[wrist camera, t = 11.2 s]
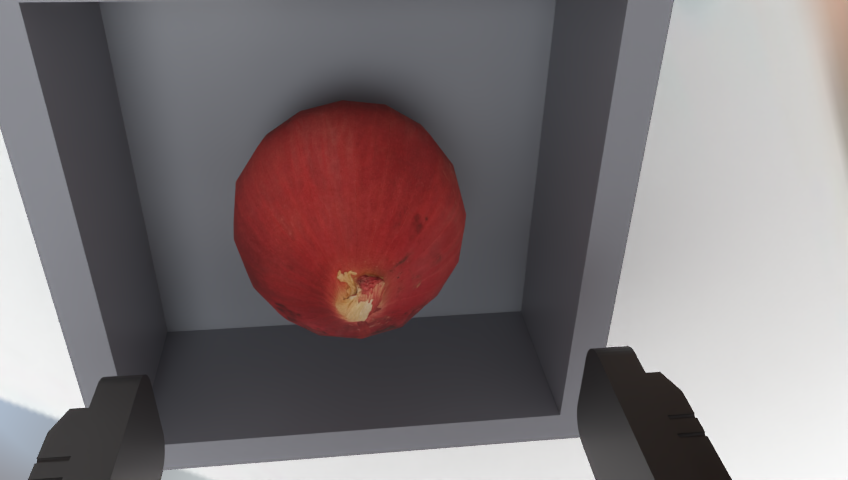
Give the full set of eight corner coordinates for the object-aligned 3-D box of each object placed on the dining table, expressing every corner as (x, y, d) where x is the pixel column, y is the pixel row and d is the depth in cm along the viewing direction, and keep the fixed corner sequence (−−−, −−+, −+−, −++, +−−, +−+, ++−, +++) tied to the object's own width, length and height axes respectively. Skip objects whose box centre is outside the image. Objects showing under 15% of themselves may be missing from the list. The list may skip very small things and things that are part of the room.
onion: (457, 217, 23) (518, 387, 17) (281, 263, 23) (271, 452, 17) (417, 40, 20) (471, 158, 14) (215, 93, 20) (168, 237, 14)
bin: (592, -97, 20) (684, -55, 15) (538, 315, 27) (588, 436, 22) (47, -100, 18) (-55, -54, 13) (147, 338, 26) (106, 474, 21)
